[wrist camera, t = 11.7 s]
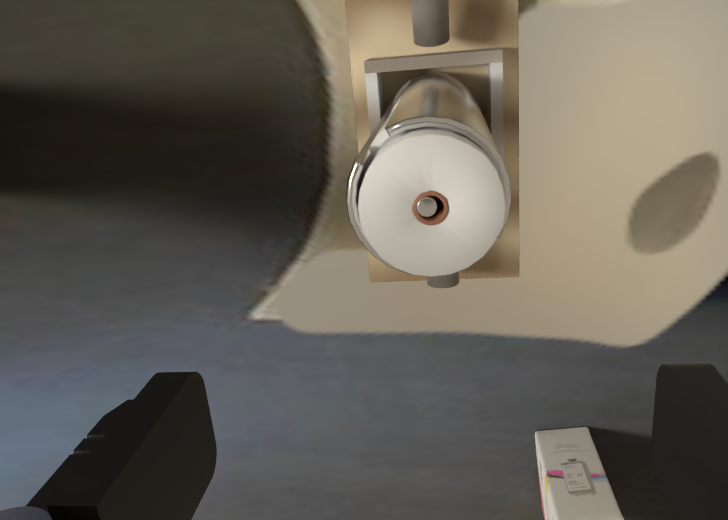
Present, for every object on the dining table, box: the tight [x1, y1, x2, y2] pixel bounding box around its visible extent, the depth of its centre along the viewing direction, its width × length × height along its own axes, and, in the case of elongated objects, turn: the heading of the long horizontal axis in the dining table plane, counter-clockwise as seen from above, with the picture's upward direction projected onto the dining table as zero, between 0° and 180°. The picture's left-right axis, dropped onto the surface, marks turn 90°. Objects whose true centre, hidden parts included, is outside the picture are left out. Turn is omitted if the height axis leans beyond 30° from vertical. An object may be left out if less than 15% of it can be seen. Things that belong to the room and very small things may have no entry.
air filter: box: [346, 72, 512, 277], centre depth 36 cm, size 6×6×25 cm
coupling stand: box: [345, 0, 519, 288], centre depth 45 cm, size 26×12×8 cm, turn 5°
